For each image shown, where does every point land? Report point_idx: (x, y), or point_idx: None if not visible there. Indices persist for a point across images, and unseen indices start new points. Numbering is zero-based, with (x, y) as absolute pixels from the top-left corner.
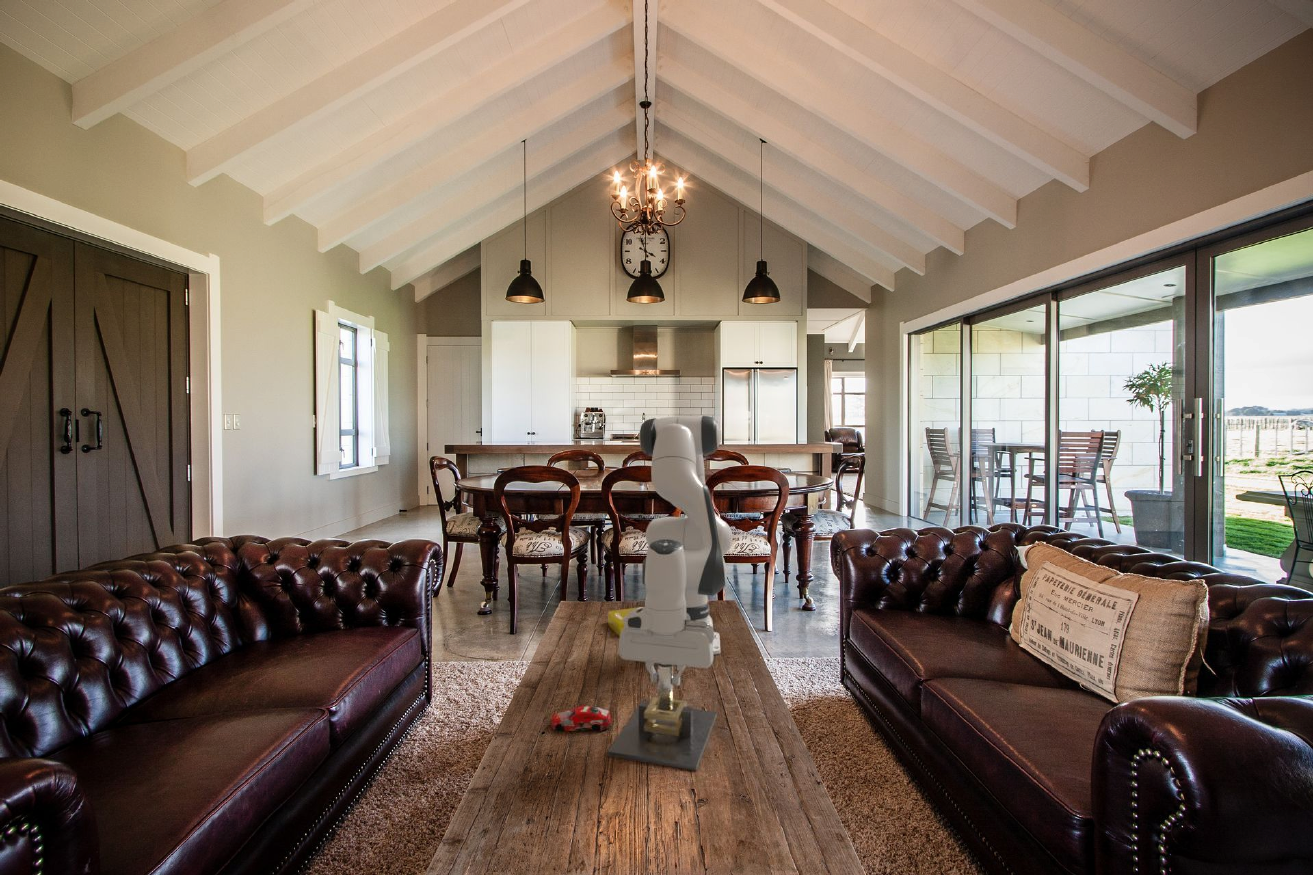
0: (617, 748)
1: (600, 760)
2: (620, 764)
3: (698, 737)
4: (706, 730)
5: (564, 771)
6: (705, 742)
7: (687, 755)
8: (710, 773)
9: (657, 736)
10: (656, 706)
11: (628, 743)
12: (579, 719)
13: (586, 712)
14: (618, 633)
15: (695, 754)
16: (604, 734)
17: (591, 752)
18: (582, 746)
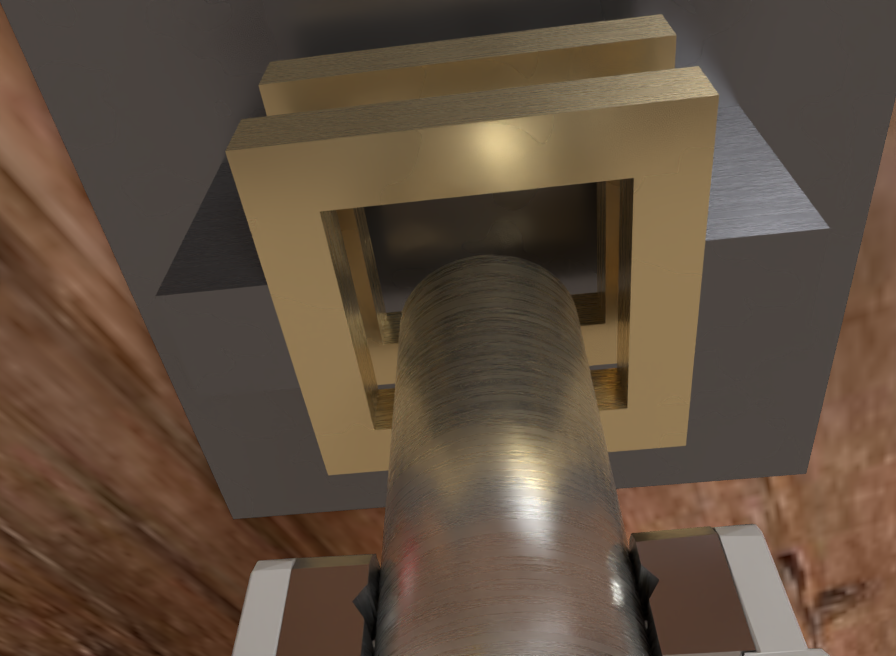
0: (266, 484)
1: (228, 528)
2: (350, 523)
3: (798, 184)
4: (876, 38)
5: (138, 623)
6: (862, 221)
7: (735, 411)
8: (883, 443)
9: None
10: (339, 234)
11: (296, 425)
12: None
13: None
14: None
15: (791, 388)
16: (32, 323)
17: (128, 493)
18: (32, 468)
